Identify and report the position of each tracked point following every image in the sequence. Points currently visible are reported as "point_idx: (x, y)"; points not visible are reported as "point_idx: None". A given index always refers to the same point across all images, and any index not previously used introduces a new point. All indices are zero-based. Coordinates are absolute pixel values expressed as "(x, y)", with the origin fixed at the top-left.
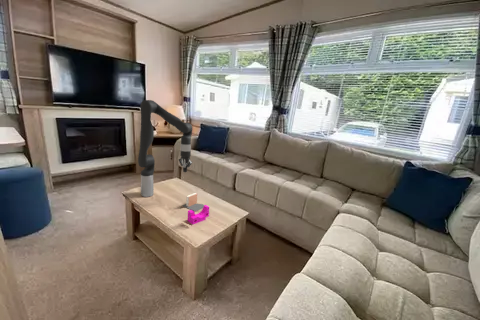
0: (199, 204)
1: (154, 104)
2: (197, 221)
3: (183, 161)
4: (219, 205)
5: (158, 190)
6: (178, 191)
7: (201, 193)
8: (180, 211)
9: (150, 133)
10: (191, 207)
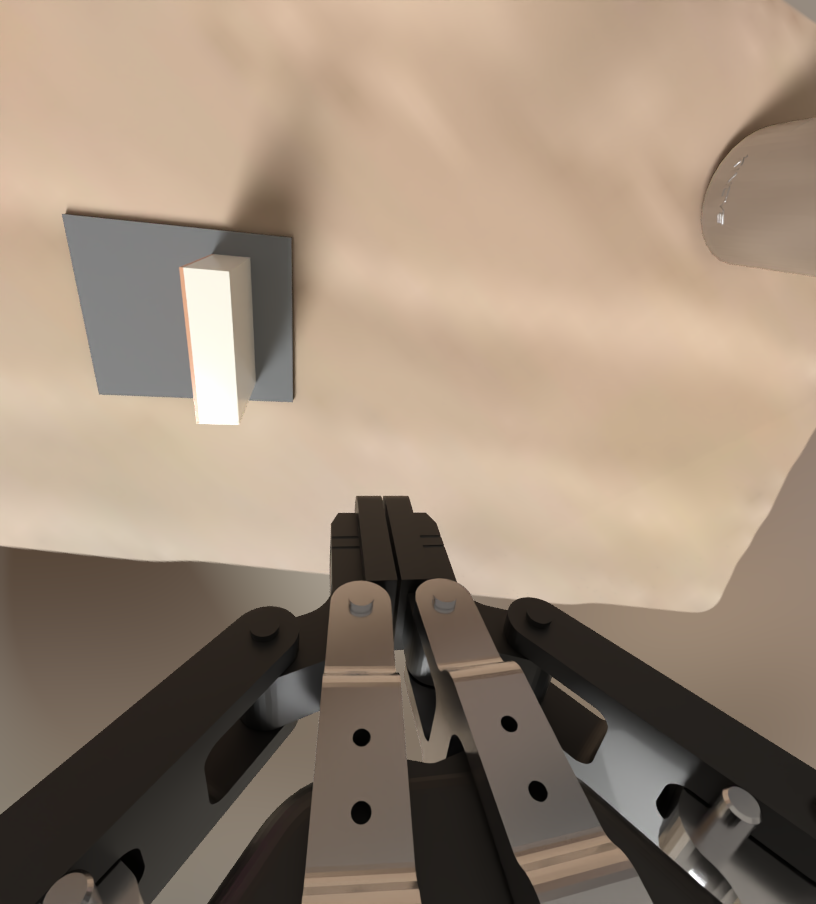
0: (177, 373)
1: None
2: None
3: (496, 827)
4: (32, 482)
5: (715, 367)
6: (547, 464)
7: None
8: (192, 102)
9: None
10: (176, 261)
